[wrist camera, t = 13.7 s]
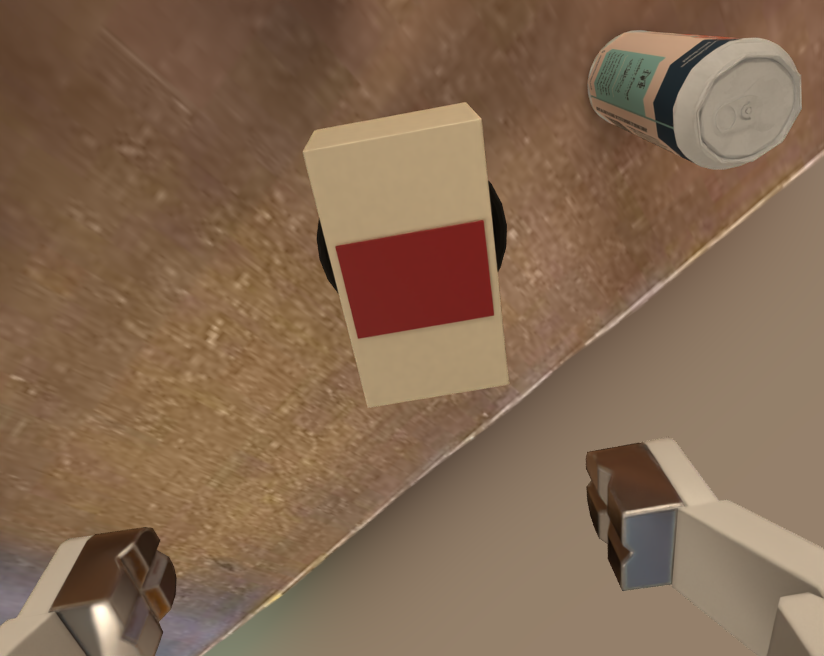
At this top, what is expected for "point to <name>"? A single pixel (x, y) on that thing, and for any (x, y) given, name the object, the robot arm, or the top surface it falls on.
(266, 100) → the top surface
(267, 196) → the top surface
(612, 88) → the beer can
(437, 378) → the packet
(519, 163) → the top surface
